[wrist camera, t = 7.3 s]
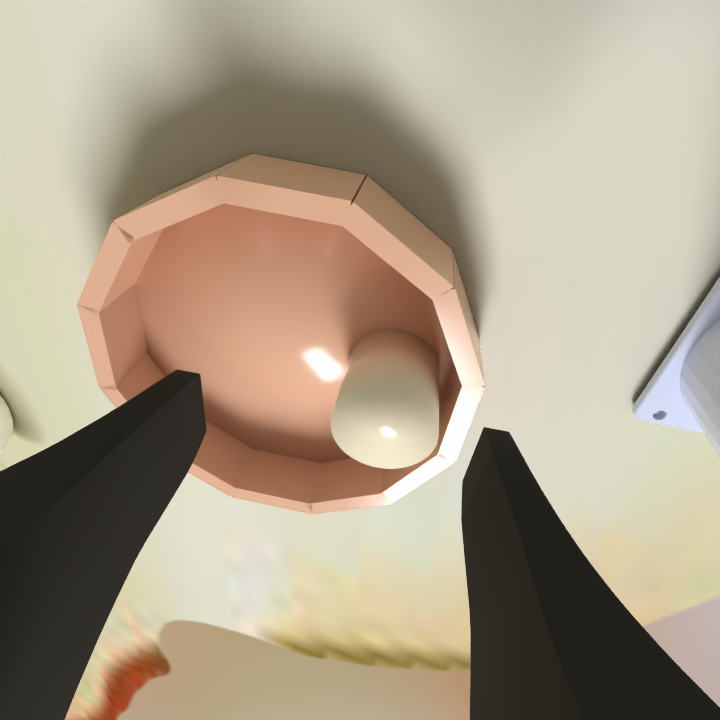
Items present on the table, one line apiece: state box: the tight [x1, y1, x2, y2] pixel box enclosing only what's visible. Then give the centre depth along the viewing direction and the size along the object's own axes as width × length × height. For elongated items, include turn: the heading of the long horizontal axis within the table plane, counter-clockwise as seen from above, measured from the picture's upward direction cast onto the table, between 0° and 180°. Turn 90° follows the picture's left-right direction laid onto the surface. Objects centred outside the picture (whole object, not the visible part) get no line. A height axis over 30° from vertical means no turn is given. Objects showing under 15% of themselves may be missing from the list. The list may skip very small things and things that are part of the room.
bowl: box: [77, 154, 485, 514], centre depth 19 cm, size 16×16×3 cm
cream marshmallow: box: [331, 329, 440, 469], centre depth 18 cm, size 4×4×4 cm
